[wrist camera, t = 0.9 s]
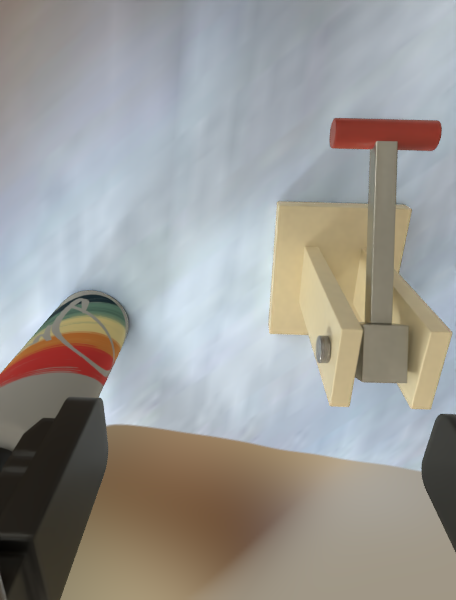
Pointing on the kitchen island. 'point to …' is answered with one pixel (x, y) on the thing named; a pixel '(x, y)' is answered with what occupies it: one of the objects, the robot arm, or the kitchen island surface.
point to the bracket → (346, 296)
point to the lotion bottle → (60, 363)
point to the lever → (382, 236)
